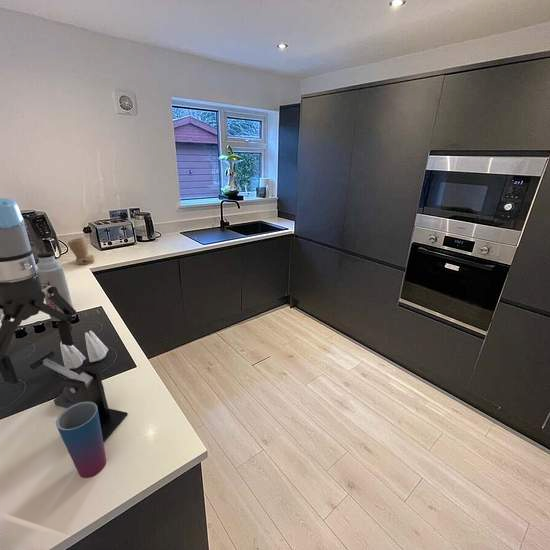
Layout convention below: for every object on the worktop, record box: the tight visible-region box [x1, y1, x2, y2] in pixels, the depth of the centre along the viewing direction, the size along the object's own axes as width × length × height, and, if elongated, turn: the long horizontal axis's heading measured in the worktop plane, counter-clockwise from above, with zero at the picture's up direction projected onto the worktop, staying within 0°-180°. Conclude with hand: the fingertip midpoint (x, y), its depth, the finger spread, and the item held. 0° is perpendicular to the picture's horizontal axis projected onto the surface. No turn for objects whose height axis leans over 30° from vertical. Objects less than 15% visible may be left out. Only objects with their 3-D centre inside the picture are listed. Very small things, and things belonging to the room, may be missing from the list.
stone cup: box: [67, 237, 95, 265], centre depth 179 cm, size 15×12×15 cm
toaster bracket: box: [64, 366, 129, 444], centre depth 68 cm, size 11×9×16 cm
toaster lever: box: [29, 350, 93, 388], centre depth 66 cm, size 13×5×2 cm, turn 78°
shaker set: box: [59, 330, 109, 370], centre depth 91 cm, size 12×4×11 cm, turn 119°
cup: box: [55, 402, 107, 479], centre depth 59 cm, size 7×7×15 cm
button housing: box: [53, 383, 105, 409], centre depth 78 cm, size 8×8×4 cm
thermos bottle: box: [36, 251, 74, 322], centre depth 112 cm, size 8×8×28 cm
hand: (42, 361), depth 67 cm, fingers open, 13 cm apart
